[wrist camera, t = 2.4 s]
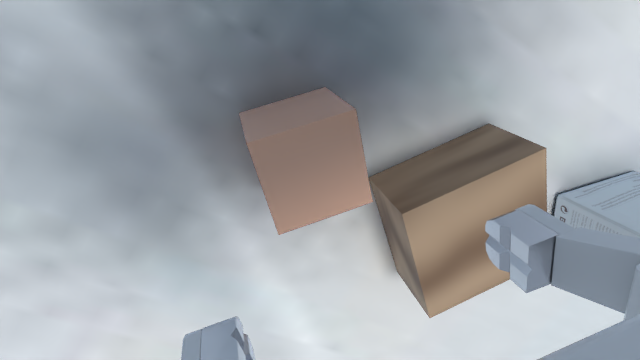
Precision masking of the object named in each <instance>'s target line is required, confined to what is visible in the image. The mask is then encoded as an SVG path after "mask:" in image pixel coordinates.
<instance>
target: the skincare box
mask: <svg viewBox="0 0 640 360" xmlns="http://www.w3.org/2000/svg"><path fill="white" fill-rule="evenodd" d="M554 217H556V218H557V219H559V220H561V221H563V222H564V223H566V224H568V225H569V226H571V227H573V228H575V229H576V228H579V227H581V228H587V229H592V230H597V231H603V232H608V233H614V234H619V235H625V236H630V237H636V238H640V173H637V172H635V171H632V172H629V173H626V174H623V175H620V176H617V177H614V178H610V179H607V180H604V181H601V182H597V183H594V184H591V185H588V186H585V187H582V188H578V189H575V190H572V191H569V192H566V193H562V194H559V195H558V197H557V200H556V206H555V213H554Z"/></svg>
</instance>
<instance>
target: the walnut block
mask: <svg viewBox="0 0 640 360" xmlns="http://www.w3.org/2000/svg"><path fill="white" fill-rule="evenodd" d="M369 181H370V184H371V187H372V190H373V194H374V197H375V200H376V204H377V207H378V210H379V213H380V217H381V220H382V223H383V226H384V230H385V233H386V236H387V239H388V243H389V246H390V249H391V252H392V256H393V259H394V262H395V265H396V269H397V272H398V273H399V275H400V276H401V278H402V279H403V281H404V282H405V283H406V285H407V286H408V288H409V289H410V291H411V292H412V293H413V295H414V296H415V298H416V299H417V301H418V302H419V304H420V305H421V306H422V308H423V309H424V311H425V312H426V314H427V315H428V316H429V318H431V317H433V316H435V315H437V314H440V313H442V312H444V311H446V310H448V309H450V308H452V307H454V306H456V305H458V304H460V303H462V302H464V301H466V300H468V299H470V298H472V297H474V296H476V295H478V294H480V293H483V292H485V291H487V290H489V289H491V288H493V287H495V286H497V285H499V284H501V283H503V282H505V281H507V280H509V279H510V276H509V272H506V271H502V270H499V269H498V268H497V267H496V266H495V265H494V264H493V263H492V261H491V260H490V259H489V256H488V254H487V252H486V241H487V239H488V237H489V234H488V233H487V232H486V231H485V225H486V222H487V221H488V220H490V219H493V218H495V217H498V216H500V215H503V214H505V213H508V212H511V211H513V210H515V209H518V208H520V207H523V206H525V205H528V204H532V205H535V206H537V207H539V208H540V209H542V210H544V211H545V212H547V184H546V148H545V147H543V146H540V145H538V144H536V143H533V142H531V141H529V140H526V139H524V138H522V137H519V136H517V135H515V134H512V133H510V132H507V131H505V130H503V129H500V128H498V127H496V126H493V125H491V124H487V125H485V126H482V127H480V128H478V129H476V130H473V131H471V132H469V133H467V134H464V135H462V136H460V137H458V138H456V139H453V140H451V141H449V142H447V143H444V144H442V145H440V146H438V147H435V148H433V149H431V150H429V151H426V152H424V153H422V154H420V155H418V156H415V157H413V158H411V159H409V160H406V161H404V162H402V163H400V164H397V165H395V166H393V167H391V168H389V169H386V170H384V171H382V172H380V173H377V174H375V175H373V176H371V177H369Z"/></svg>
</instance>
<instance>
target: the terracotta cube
mask: <svg viewBox="0 0 640 360" xmlns="http://www.w3.org/2000/svg"><path fill="white" fill-rule="evenodd" d="M239 116H240V120H241V124H242V128H243V132H244V136H245V140H246V144H247V147H248V150H249V152H250V155H251V158H252V161H253V164H254V166H255V169H256V172H257V175H258V178H259V181H260V183H261V186H262V189H263V192H264V195H265V198H266V200H267V203H268V206H269V209H270V212H271V215H272V217H273V220H274V223H275V226H276V229H277V231H278V234H279V235H280V234H283V233H286V232H289V231H292V230H294V229H297V228H300V227H303V226H306V225H309V224H312V223H314V222H317V221H320V220H323V219H326V218H329V217H331V216H334V215H337V214H340V213H343V212H346V211H349V210H351V209H354V208H357V207H360V206H363V205H366V204H368V203H371V202H373V201H372V195H371V189H370V184H369V178H368V173H367V167H366V162H365V156H364V151H363V145H362V140H361V134H360V129H359V123H358V118H357V112H356V109H355V108H354V107H352V106H351V105H350V104H348V103H347V102H346V101H344V100H343V99H341V98H340V97H339V96H337V95H336V94H334V93H333V92H332V91H330V90H329V89H327V88H326V87H323V88H320V89H317V90H313V91H310V92H307V93H303V94H300V95H297V96H294V97H290V98H287V99H284V100H280V101H277V102H274V103H270V104H267V105H264V106H260V107H257V108H254V109H250V110H247V111H244V112H240V113H239Z"/></svg>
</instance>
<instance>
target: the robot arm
mask: <svg viewBox="0 0 640 360" xmlns="http://www.w3.org/2000/svg"><path fill="white" fill-rule="evenodd" d="M485 231H486V232H487V233H488V234H489V237H488V239H487V241H486V252H487V254H488V256H489V259H490V260H491V261H492V263H493V264H494V265H495V266H496V267H497V268H498V269H499V270H502V271H506V272H509V276H510V279H511V280H512V281H513V282H514V283H515V284H516V285H517V286H519V287H520V288H521V289H522V290H523V291H524V292H525V293H528V292H531V291H533V290H536V289H538V288H541V287H544V286H546V285H549V284H551V285H552V286H555V287H557V288H560V289H563V290H565V291H568V292H570V293H573V294H575V295H578V296H581V297H583V298H586V299H588V300H591V301H593V302H596V303H599V304H601V305H604V306H606V307H609V308H611V309H614V310H617V311H619V312H622V313H624V314H625V315H624V320H623V321H622V322H620V323H618V324H615V325H613V326H611V327H609V328H606V329H604V330H602V331H600V332H597V333H595V334H593V335H591V336H589V337H586V338H584V339H582V340H580V341H577V342H575V343H573V344H571V345H569V346H566V347H564V348H562V349H560V350H557V351H555V352H553V353H551V354H549V355H546V356H544V357H542V358H540V359H538V360H640V238H636V237H630V236H625V235H619V234H614V233H608V232H603V231H597V230H592V229H587V228H581V227H579V228H576V229H575V228H573V227H571V226H569V225H568V224H566V223H564V222H563V221H561V220H559V219H557V218H556V217H554V216H552V215H551V214H549V213H547V212H545V211H544V210H542V209H540V208H539V207H537V206H535V205H532V204H528V205H525V206H523V207H520V208H518V209H515V210H513V211H511V212H508V213H505V214H503V215H500V216H498V217H495V218H493V219H490V220H488V221H487V222H486V225H485ZM181 360H255V355H254V351H253V347H252V344H251V342H250V339H249V337H248V335H246V334H244V333H243V325H242V323H241V321H240V319H239V317H237V316H236V317H233V318H230V319H227V320H224V321H221V322H219V323H216V324H213V325H210V326H207V327H204V328H203V329H200V330H197V331H194V332H191V333H189V334H186V335H185V337H184V339H183V346H182V356H181Z"/></svg>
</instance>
